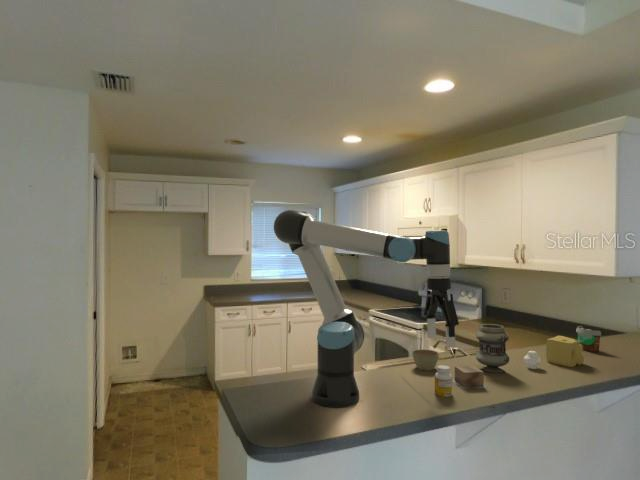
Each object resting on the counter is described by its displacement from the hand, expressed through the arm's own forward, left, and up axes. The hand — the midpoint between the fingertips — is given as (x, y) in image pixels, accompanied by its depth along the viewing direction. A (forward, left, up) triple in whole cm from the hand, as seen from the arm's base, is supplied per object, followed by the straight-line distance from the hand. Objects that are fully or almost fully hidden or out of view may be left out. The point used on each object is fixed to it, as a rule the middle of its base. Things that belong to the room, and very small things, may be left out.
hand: (440, 342), depth 138 cm
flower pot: (+5, +26, -18) cm, 32 cm away
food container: (+92, +47, -18) cm, 105 cm away
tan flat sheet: (+13, +7, -17) cm, 23 cm away
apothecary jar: (+30, +21, -18) cm, 41 cm away
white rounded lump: (+49, +24, -18) cm, 57 cm away
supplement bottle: (0, -1, -18) cm, 18 cm away
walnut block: (+13, +7, -16) cm, 22 cm away
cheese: (+67, +29, -18) cm, 75 cm away
